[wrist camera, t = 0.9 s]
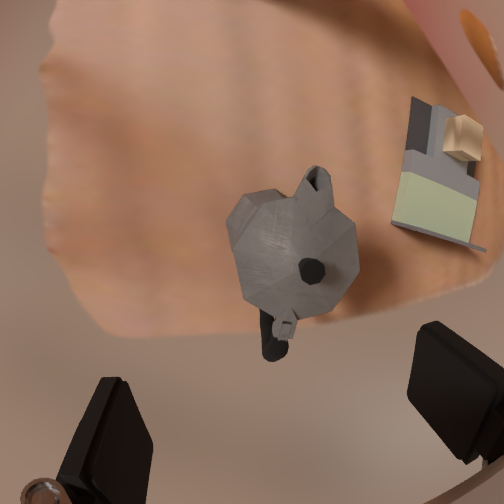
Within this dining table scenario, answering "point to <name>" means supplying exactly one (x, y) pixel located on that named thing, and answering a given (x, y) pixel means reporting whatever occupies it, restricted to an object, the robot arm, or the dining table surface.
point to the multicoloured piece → (435, 181)
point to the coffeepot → (292, 256)
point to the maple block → (463, 138)
